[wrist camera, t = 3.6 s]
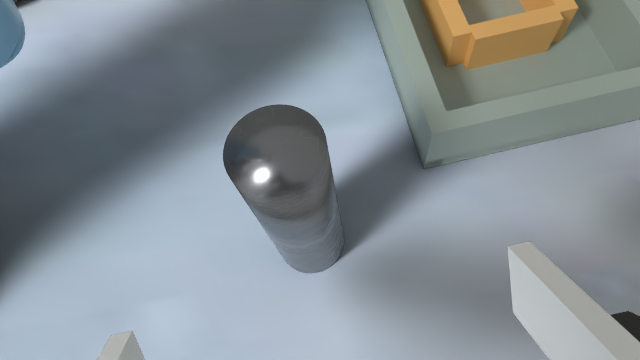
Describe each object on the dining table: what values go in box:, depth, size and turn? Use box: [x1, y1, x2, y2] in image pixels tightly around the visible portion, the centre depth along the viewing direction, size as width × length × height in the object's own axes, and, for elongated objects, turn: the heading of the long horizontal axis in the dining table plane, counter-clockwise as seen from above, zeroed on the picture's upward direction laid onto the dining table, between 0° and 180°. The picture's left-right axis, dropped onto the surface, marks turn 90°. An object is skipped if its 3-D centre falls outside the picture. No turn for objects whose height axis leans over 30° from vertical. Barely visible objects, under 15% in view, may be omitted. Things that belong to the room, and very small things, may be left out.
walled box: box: [366, 0, 640, 169], centre depth 32 cm, size 15×20×4 cm
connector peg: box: [223, 105, 344, 273], centre depth 23 cm, size 4×4×12 cm
